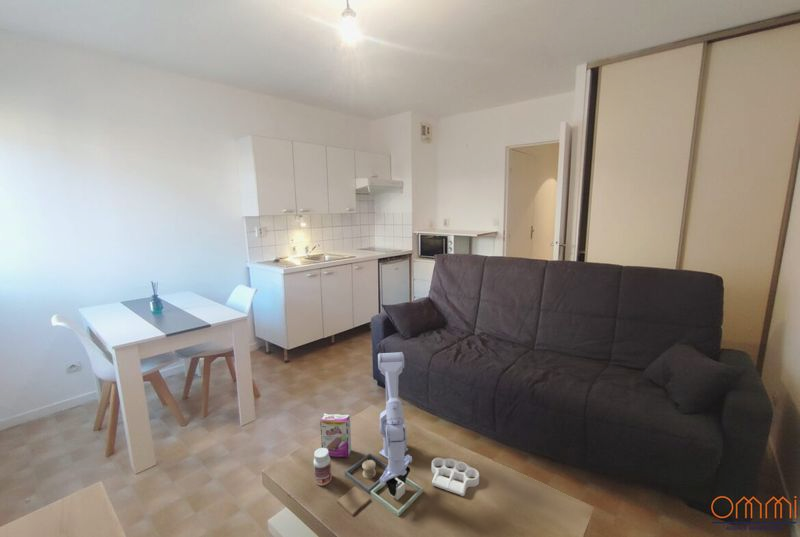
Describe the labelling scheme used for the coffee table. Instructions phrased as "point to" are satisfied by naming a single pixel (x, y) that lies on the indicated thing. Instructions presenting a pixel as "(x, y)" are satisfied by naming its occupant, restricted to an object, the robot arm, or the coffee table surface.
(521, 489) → the coffee table surface
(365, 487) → the charcoal tray
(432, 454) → the coffee table surface
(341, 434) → the candy bar box
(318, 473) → the pill bottle
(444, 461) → the knuckle duster
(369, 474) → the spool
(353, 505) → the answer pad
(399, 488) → the letter cube
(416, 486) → the green tray
